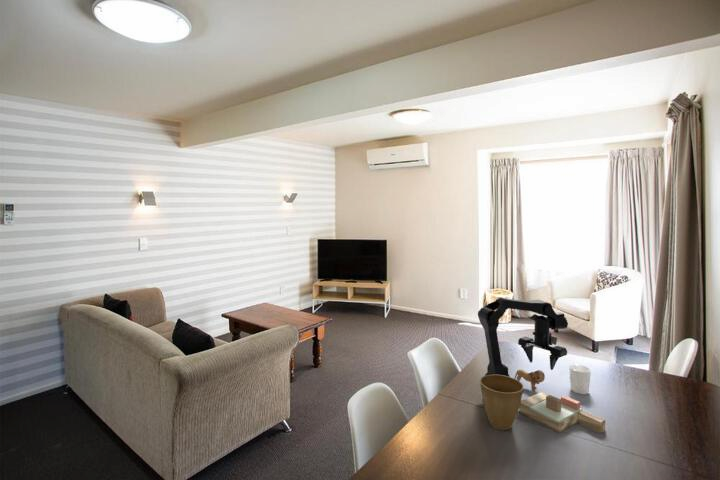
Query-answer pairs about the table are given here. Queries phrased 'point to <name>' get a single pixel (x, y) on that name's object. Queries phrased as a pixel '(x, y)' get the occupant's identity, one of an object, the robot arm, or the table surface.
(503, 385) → the plant pot
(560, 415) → the lid
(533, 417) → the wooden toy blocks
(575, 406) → the block
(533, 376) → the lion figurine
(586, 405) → the table surface
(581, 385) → the white cup
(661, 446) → the table surface
